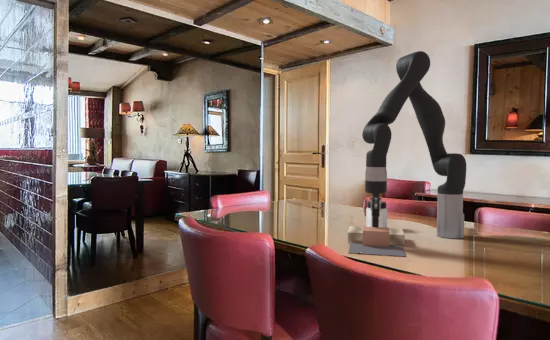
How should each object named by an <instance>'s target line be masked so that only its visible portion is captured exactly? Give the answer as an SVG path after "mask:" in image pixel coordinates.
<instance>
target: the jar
mask: <svg viewBox="0 0 550 340" xmlns="http://www.w3.org/2000/svg"><path fill="white" fill-rule="evenodd" d="M366 202H367V203H366V204H367V207H366V209H365V210H366V213H365V216H366V217H365V218H366V219H365V220H366V221H365V222H366V223H365V224H366V225H365V227H372V211H371V203H370V200H368V201H366ZM379 214H380V216H379V227H386V228H388V207H387V202H386V201H385V200H382V202H381V211H380V212H379Z"/></svg>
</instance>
